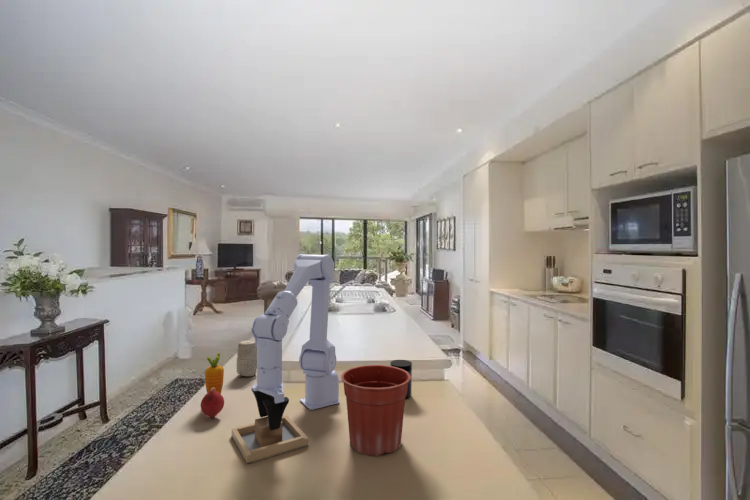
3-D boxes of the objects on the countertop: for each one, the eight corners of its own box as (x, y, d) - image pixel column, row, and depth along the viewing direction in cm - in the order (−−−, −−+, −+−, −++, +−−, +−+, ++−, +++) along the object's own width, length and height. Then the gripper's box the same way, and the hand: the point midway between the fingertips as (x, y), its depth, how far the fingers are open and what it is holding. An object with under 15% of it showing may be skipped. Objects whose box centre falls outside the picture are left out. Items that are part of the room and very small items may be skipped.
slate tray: (286, 422, 101) (286, 413, 101) (308, 445, 89) (308, 436, 89) (231, 436, 93) (231, 427, 93) (247, 464, 82) (247, 453, 82)
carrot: (205, 410, 108) (205, 357, 107) (204, 403, 112) (204, 352, 112) (224, 407, 110) (224, 354, 110) (222, 400, 114) (222, 350, 114)
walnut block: (275, 432, 95) (275, 414, 95) (282, 441, 91) (282, 422, 91) (254, 438, 92) (254, 419, 92) (261, 447, 88) (261, 427, 88)
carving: (261, 374, 138) (262, 341, 137) (242, 380, 132) (242, 345, 132) (252, 370, 142) (252, 338, 142) (233, 375, 136) (233, 342, 136)
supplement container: (413, 400, 116) (414, 366, 116) (391, 401, 115) (392, 366, 115) (409, 391, 123) (409, 359, 123) (388, 392, 122) (388, 359, 122)
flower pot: (331, 433, 96) (332, 368, 95) (391, 421, 102) (391, 361, 102) (354, 469, 80) (355, 392, 80) (422, 452, 87) (423, 382, 87)
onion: (215, 423, 100) (215, 393, 100) (195, 421, 101) (195, 391, 101) (228, 414, 106) (228, 385, 105) (209, 412, 107) (209, 383, 107)
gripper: (244, 360, 95) (244, 414, 95) (262, 377, 83) (261, 440, 83) (272, 355, 99) (272, 408, 99) (293, 371, 87) (292, 431, 87)
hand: (269, 422), depth 91 cm, fingers open, 7 cm apart
